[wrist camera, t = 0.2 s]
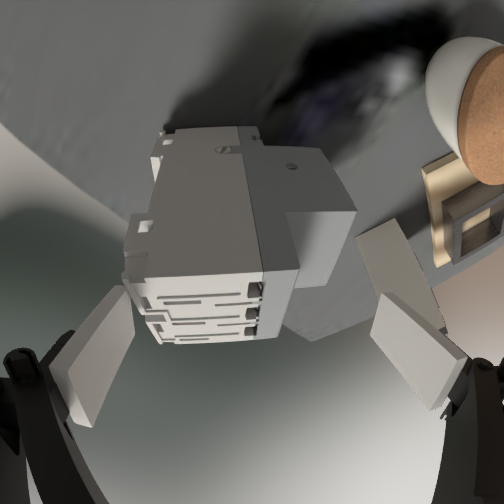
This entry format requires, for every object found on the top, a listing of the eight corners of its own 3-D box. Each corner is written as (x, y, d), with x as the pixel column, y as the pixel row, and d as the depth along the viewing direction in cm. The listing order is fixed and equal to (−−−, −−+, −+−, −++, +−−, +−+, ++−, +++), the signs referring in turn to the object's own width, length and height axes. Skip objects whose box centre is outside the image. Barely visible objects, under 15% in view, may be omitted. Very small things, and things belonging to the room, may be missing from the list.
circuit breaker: (310, 194, 28) (359, 325, 18) (170, 198, 26) (155, 344, 17) (324, 129, 22) (409, 260, 13) (160, 131, 21) (116, 279, 11)
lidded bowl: (393, 18, 13) (491, 47, 6) (487, 32, 11) (570, 74, 4) (403, 139, 23) (466, 214, 15) (484, 130, 20) (544, 190, 13)
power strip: (354, 237, 33) (394, 356, 23) (397, 216, 31) (451, 331, 20) (365, 260, 37) (400, 365, 27) (404, 241, 35) (447, 344, 24)
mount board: (421, 168, 25) (426, 174, 24) (499, 128, 20) (505, 133, 19) (434, 262, 40) (436, 267, 39) (492, 229, 34) (495, 234, 33)
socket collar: (441, 201, 27) (455, 221, 25) (498, 170, 23) (513, 187, 21) (444, 247, 35) (453, 265, 32) (493, 219, 30) (504, 235, 28)
